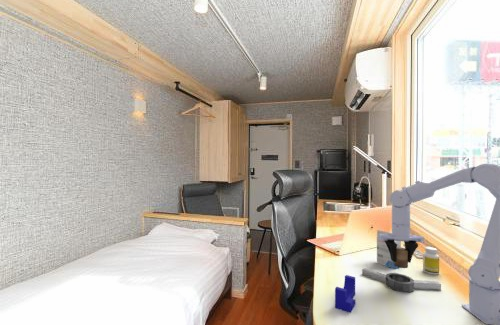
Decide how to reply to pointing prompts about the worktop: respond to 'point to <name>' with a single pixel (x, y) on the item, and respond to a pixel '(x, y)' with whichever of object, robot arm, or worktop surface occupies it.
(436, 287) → the coupling collar
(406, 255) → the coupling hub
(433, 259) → the supplement bottle
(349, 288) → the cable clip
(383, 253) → the ink box
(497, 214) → the robot arm
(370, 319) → the worktop surface
